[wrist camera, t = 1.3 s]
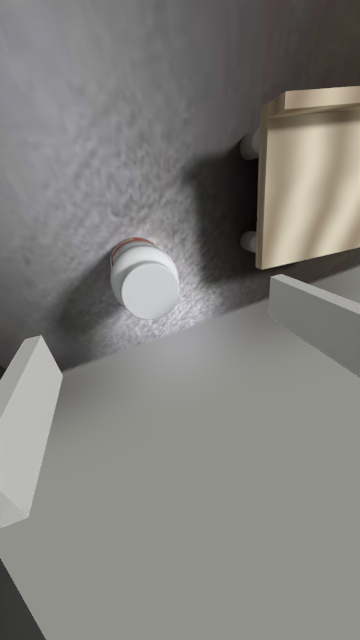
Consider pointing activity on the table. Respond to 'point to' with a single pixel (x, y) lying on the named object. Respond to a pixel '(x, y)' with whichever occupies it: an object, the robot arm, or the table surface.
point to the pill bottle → (144, 278)
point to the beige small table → (306, 176)
